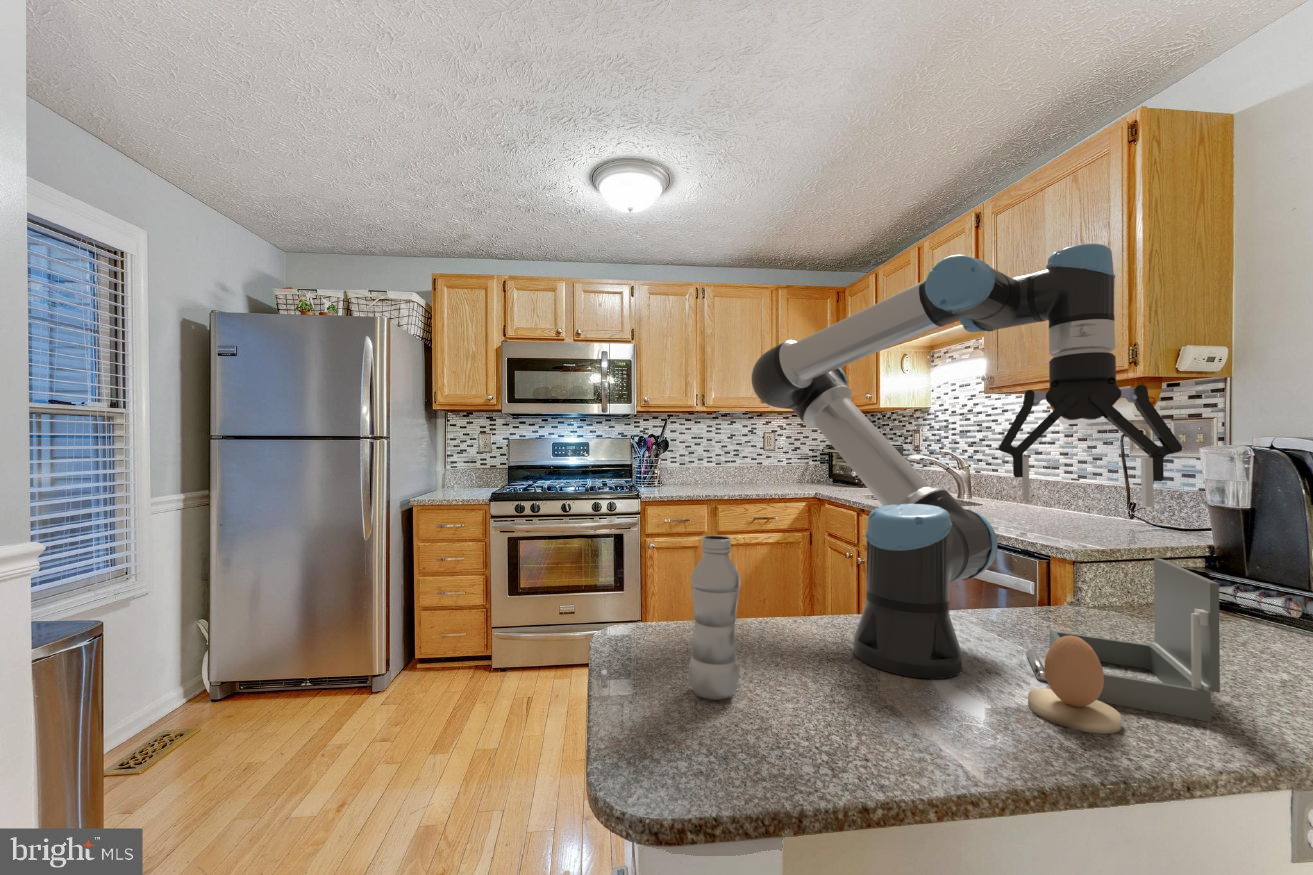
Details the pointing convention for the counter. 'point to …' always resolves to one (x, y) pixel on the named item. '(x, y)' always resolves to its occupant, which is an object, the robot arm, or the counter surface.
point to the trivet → (1075, 713)
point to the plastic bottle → (714, 621)
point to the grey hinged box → (1169, 649)
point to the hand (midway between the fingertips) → (1083, 503)
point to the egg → (1074, 671)
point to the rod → (1036, 665)
